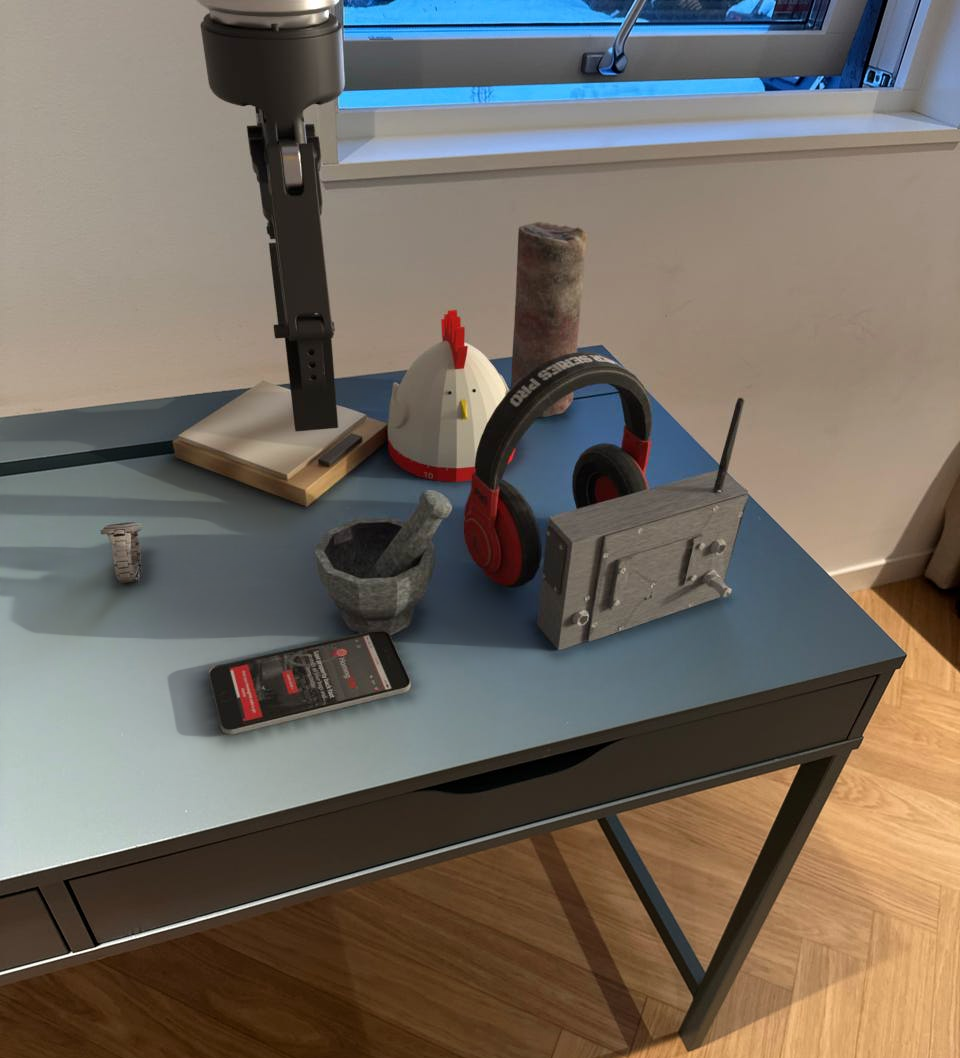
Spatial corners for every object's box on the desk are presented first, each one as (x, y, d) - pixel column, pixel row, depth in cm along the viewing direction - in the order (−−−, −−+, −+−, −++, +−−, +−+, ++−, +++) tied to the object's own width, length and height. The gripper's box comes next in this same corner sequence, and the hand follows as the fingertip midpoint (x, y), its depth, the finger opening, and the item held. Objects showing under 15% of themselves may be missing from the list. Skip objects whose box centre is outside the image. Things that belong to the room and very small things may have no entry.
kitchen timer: (399, 487, 96) (396, 350, 86) (378, 419, 106) (373, 289, 96) (529, 474, 99) (541, 339, 89) (497, 409, 109) (504, 281, 98)
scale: (175, 457, 99) (170, 436, 97) (265, 398, 108) (262, 377, 107) (307, 507, 93) (304, 485, 91) (388, 439, 103) (388, 418, 101)
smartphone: (206, 667, 75) (386, 627, 79) (208, 673, 76) (386, 633, 80) (222, 732, 70) (413, 686, 74) (223, 738, 71) (413, 692, 75)
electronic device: (693, 571, 88) (742, 376, 74) (738, 615, 84) (800, 416, 70) (532, 624, 82) (553, 420, 68) (572, 673, 77) (603, 467, 64)
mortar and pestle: (321, 652, 77) (308, 530, 70) (321, 584, 85) (310, 467, 77) (456, 645, 79) (458, 525, 71) (445, 578, 86) (446, 463, 78)
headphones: (503, 618, 82) (518, 414, 68) (446, 556, 88) (449, 358, 74) (658, 558, 89) (699, 362, 75) (595, 505, 95) (623, 315, 82)
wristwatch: (151, 549, 87) (140, 504, 84) (148, 591, 83) (136, 546, 79) (112, 552, 87) (99, 508, 83) (107, 595, 82) (93, 550, 79)
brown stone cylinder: (495, 399, 110) (504, 224, 97) (539, 380, 114) (553, 209, 100) (541, 425, 106) (558, 246, 93) (585, 404, 110) (607, 230, 96)
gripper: (373, 66, 42) (388, 469, 57) (317, -27, 60) (339, 298, 74) (202, 68, 41) (262, 481, 55) (195, -28, 58) (242, 304, 73)
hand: (306, 377), depth 65 cm, fingers open, 13 cm apart
